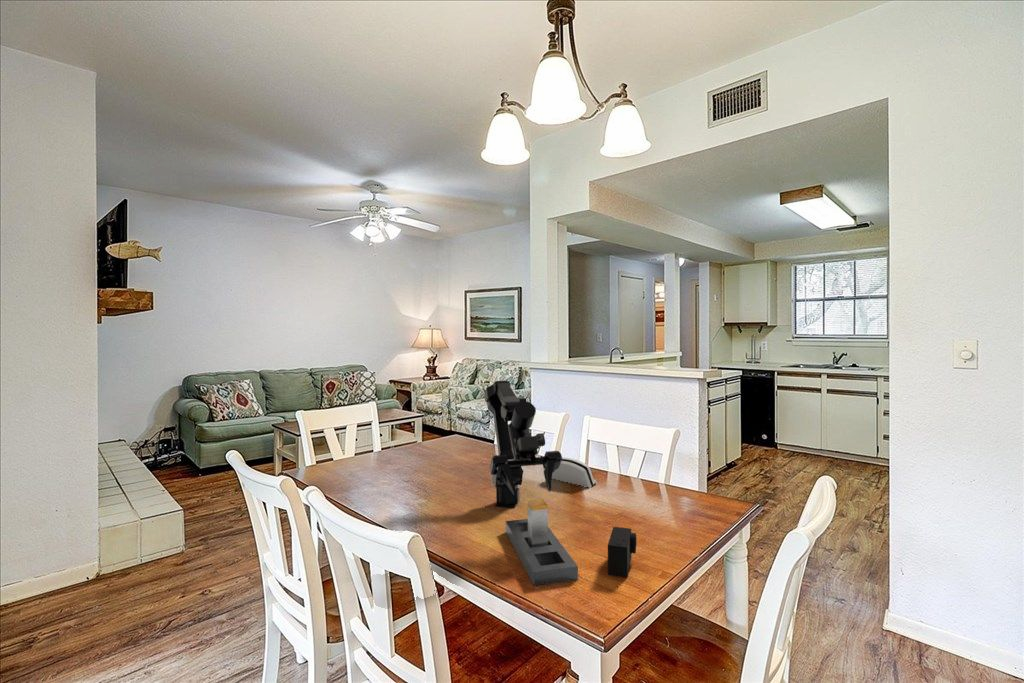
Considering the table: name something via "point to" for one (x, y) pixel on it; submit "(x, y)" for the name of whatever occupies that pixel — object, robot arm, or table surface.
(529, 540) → the grey square peg
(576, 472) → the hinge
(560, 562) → the gray slotted board
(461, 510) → the table surface
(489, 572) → the table surface
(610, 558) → the digital camera
